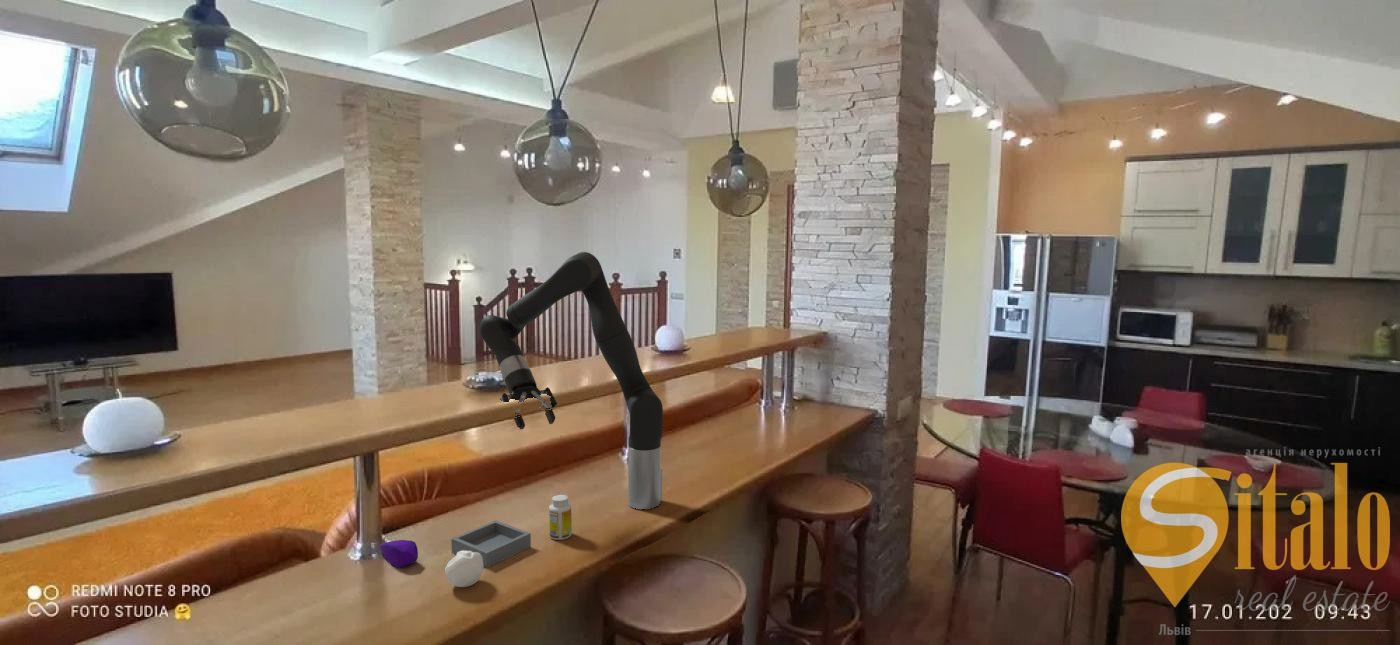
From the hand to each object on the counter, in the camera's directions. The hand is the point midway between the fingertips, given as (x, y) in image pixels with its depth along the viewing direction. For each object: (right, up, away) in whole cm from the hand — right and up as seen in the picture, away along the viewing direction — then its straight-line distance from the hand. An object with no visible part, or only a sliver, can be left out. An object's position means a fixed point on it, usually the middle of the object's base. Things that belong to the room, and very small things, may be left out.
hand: (538, 425), depth 171 cm
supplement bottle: (+7, -28, -6) cm, 29 cm away
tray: (-8, -28, -14) cm, 32 cm away
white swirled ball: (-8, -30, -30) cm, 43 cm away
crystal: (-28, -29, -19) cm, 45 cm away
